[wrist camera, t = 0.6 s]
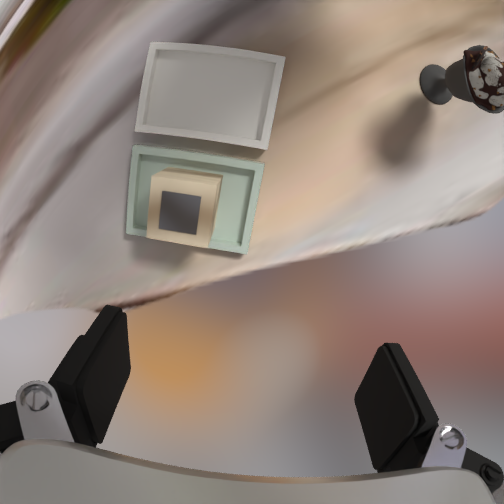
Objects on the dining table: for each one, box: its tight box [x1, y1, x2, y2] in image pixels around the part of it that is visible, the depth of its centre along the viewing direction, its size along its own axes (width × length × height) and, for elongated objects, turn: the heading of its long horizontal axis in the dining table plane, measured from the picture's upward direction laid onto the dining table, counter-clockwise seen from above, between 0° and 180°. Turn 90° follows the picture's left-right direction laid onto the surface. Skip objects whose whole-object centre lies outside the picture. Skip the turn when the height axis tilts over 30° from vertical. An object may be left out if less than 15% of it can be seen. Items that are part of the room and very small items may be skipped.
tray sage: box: [126, 144, 265, 254], centre depth 34 cm, size 10×14×2 cm
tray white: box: [134, 42, 286, 150], centre depth 29 cm, size 10×14×2 cm
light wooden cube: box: [146, 167, 223, 248], centre depth 31 cm, size 6×6×6 cm
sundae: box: [420, 45, 504, 113], centre depth 22 cm, size 7×7×15 cm
